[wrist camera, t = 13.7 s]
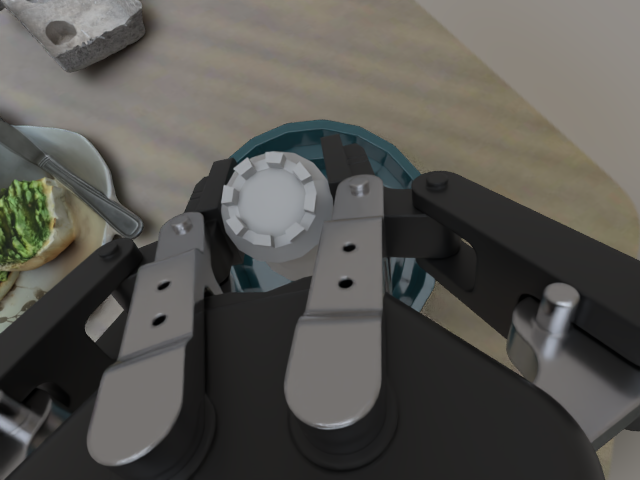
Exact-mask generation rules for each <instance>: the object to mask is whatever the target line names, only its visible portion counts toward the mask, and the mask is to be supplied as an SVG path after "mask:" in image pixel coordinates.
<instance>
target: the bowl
mask: <svg viewBox="0 0 640 480" xmlns="http://www.w3.org/2000/svg"><path fill="white" fill-rule="evenodd" d="M335 134H339V135H340V138H341V142H342V145H343V146H346V145H350V144H354V143H356V144H358V145H360V146H361V147H363V148H364V150H365V152H366V155H367V157H368V160H369V162H370V164H371V167H372V169H373V172H374V174H375V176H377V177H379V178H380V179H381V180H382V181H383V186H385V187H388V188H392V189H412V186H411V185H412V182H413V180H414V179H415V178H417V177H418V176H420V175H421V174H420V172H419V171H418V170H417V169H416V168H415V167H414V166H413V165H412V164H411V163H410V162H409V160H408V159H407V158H406V157H405V156H404V155H403V154H402V153H401V152H400V151H399V150H398V149H397V148H396V147H395V146H394V145H393V144H391V143H389V142H387V141H386V140H384V139H382V138H380V137H378V136H376V135H375V134H373V133H371V132H369V131H367V130H366V129H364V128H362V127H360V126H355V125H350V124H345V123H340V122H334V121H329V120H323V119H322V120H313V121H304V122H295V123H287V124H284V125H282V126H279V127H277V128H275V129H272V130H270V131H268V132H265V133H263V134H261V135H259V136H256V137H254V138H252V139H250V140H249V141H248V142H247V143H246V144H245V145H243V146H242V147H241V148H240V149H239V150H238V151H236V152H235V153H234V154H233V155H232V156H230V157H229V158H234V159H235V160H236V162H237V164H240V163H241V162H242V161H243V160H245V159H246V158H247V157H248V158H249V159H251V158H252V157H255V156H259V155H262V154H265V152H272V151H276V152H289V153H295V154H297V155H299V156H301V157H303V158H305V159H307V160H309V161H311V162H313V163H314V164H315V166H316V167H317V168H318V169H319V170H320V172H321V173H322V174H323V175H324V176H325V178H326V179H327V181H328V178H327V173H326V168H325V162H324V157H323V151H322V146H321V140H320V138H322V137H326V136H330V135H335ZM229 158H228V159H229ZM328 185H329V184H328ZM231 273H232V275H233V277H234V280H235V288H236V292H267V291H270V290H273V289H275V288H278V287H280V286H283V285H285V284H288V283H291V282H293V281H291V280H289V279H287V278H285V277H284V276H282V275H280V274H278V273H277V272H275V271H273V270H272V269H271V268H270V267H269V265H268V264H267V263H266V262H265V261H258V260H256V259H254V258H252V257H251V256H249V255H247V254H245V255H244V262H243V264H238V265H233V266H231ZM391 276H392V296H394V297H395V298H397V299H399V300H400V301H402V302H403V303H405V304H407V305H408V306H410V307H411V308H413V309H415V310H416V311H418V312H419V313H420V311H421V309H422V308H423V306H424V304H425V303H426V301H427V299H428V298H429V296H430V294H431V293H432V291H433V289H434V284H435V279H434V278H433V277H432V276H431V275H429V274H428V273H427V272H426V271H425V270H423V269H422V268H421V267H420V266H419V265H418V264H417V262H416V260H415V258H399V257H391Z"/></svg>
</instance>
